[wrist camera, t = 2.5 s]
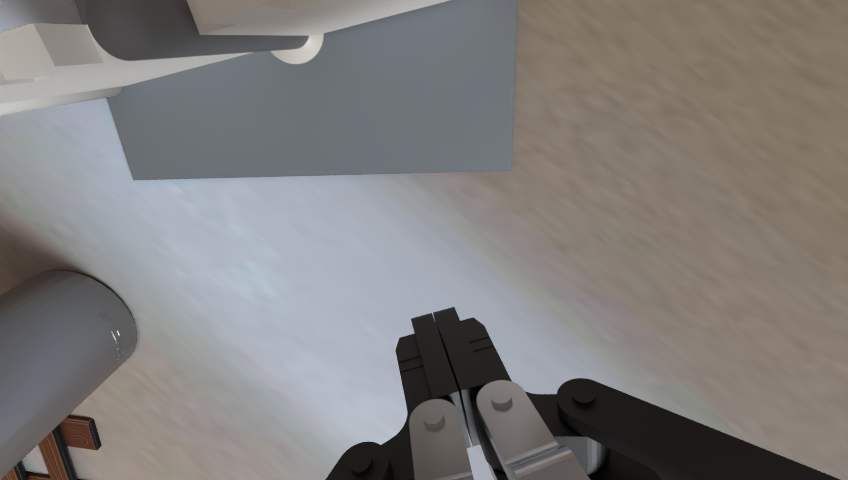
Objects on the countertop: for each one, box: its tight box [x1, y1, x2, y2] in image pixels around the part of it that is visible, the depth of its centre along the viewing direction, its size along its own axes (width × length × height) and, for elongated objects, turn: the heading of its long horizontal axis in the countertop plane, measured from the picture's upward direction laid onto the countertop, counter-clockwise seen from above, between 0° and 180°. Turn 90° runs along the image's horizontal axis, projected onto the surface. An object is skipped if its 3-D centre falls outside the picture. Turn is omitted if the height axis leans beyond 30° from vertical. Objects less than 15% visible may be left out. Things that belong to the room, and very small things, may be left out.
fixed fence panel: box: [0, 0, 309, 115], centre depth 20 cm, size 14×2×14 cm, turn 103°
